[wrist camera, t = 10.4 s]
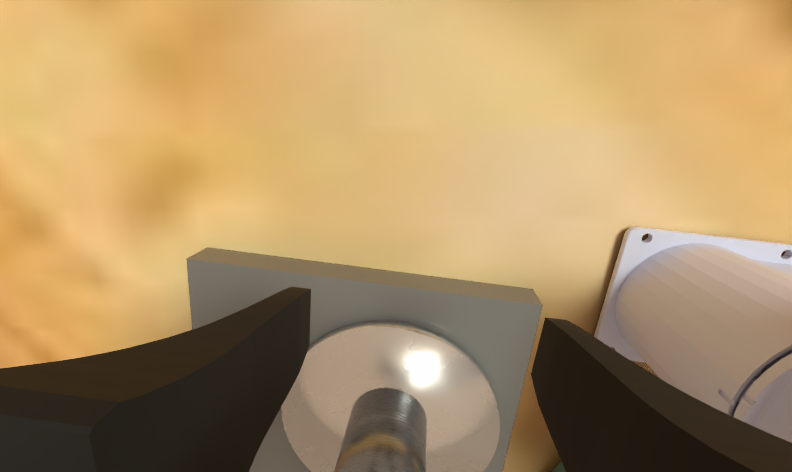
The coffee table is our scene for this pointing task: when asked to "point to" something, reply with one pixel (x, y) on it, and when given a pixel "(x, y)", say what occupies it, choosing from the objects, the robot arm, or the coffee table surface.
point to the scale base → (376, 300)
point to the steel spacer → (384, 434)
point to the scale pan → (399, 369)
